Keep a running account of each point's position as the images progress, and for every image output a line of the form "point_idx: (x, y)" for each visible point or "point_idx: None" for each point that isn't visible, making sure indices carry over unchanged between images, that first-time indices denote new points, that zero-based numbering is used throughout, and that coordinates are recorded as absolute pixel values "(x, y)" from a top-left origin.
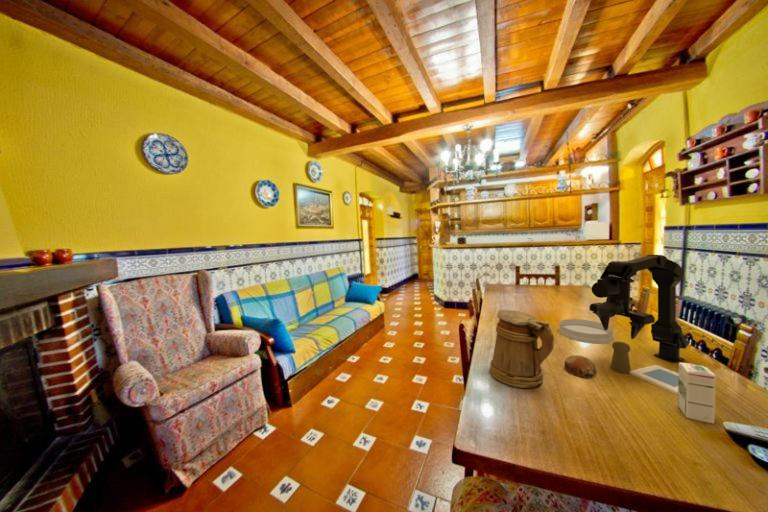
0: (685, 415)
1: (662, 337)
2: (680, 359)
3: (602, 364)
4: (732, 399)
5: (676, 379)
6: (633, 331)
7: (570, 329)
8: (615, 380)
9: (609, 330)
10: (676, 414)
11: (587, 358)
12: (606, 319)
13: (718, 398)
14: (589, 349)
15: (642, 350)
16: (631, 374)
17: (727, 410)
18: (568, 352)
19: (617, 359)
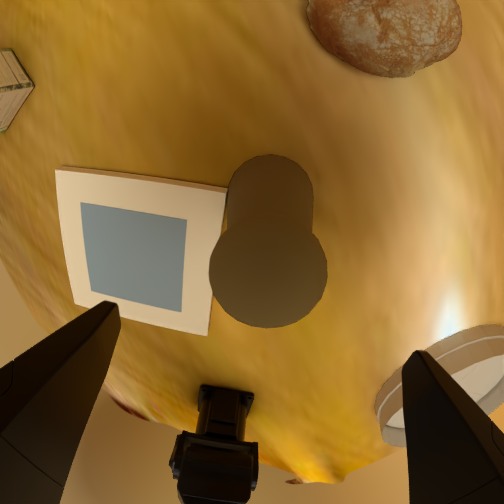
0: (7, 48)
1: (216, 456)
2: (200, 404)
3: (348, 185)
4: (33, 271)
5: (110, 269)
6: (21, 363)
7: (486, 376)
8: (228, 56)
9: (390, 434)
10: (24, 37)
11: (384, 25)
12: (440, 482)
13: (37, 250)
14: (428, 296)
15: (290, 403)
16: (218, 187)
17: (3, 198)
18: (486, 194)
19: (270, 186)
